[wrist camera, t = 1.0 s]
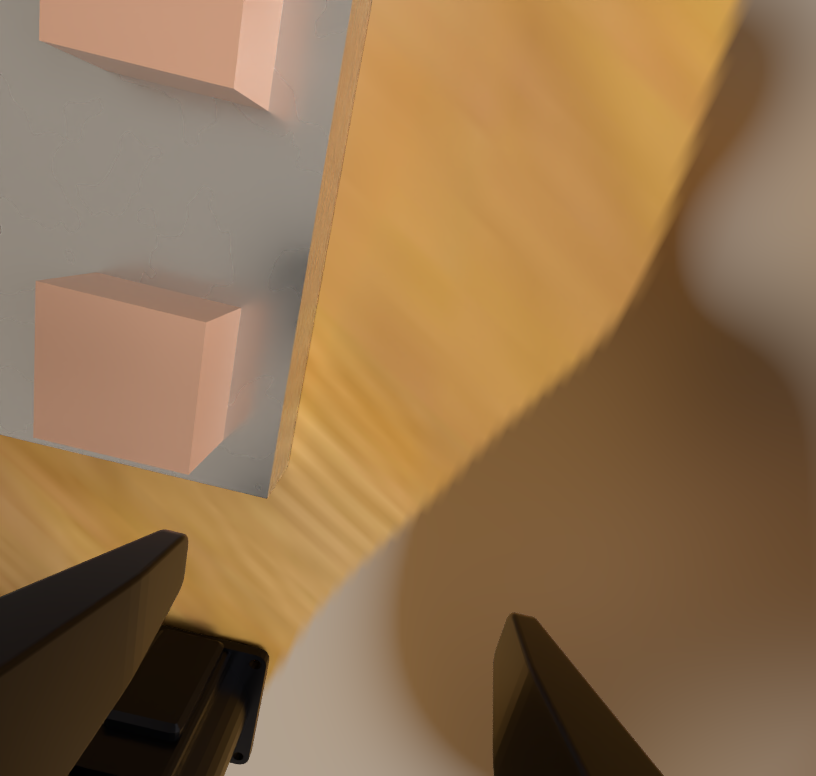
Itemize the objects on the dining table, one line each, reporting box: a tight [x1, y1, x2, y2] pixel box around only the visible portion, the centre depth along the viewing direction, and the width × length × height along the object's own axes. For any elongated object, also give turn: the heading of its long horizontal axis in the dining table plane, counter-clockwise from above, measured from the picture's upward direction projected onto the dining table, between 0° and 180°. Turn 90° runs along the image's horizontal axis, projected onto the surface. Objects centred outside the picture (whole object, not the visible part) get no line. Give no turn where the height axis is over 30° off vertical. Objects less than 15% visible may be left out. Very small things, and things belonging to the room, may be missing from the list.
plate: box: [0, 0, 372, 498], centre depth 16 cm, size 18×10×2 cm, turn 167°
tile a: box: [33, 272, 241, 475], centre depth 15 cm, size 4×4×2 cm
